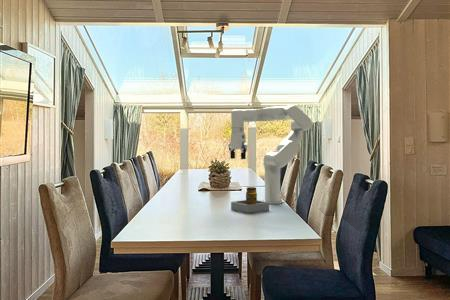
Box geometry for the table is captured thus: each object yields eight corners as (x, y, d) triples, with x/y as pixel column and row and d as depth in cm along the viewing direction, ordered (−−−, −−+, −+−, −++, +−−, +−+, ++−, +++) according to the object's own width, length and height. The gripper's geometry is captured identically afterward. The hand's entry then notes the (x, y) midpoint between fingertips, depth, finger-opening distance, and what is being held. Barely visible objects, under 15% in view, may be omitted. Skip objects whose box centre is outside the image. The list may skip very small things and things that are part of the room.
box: (251, 206, 237) (251, 199, 236) (269, 210, 224) (269, 202, 224) (231, 209, 228) (231, 201, 228) (248, 213, 216) (247, 205, 215)
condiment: (260, 209, 226) (260, 187, 225) (247, 210, 221) (247, 188, 221) (252, 207, 232) (252, 186, 231) (240, 208, 227) (240, 187, 227)
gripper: (252, 130, 238) (252, 159, 238) (233, 130, 251) (233, 158, 252) (242, 130, 233) (242, 159, 234) (223, 130, 247) (224, 158, 247)
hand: (237, 158), depth 243 cm, fingers open, 9 cm apart
